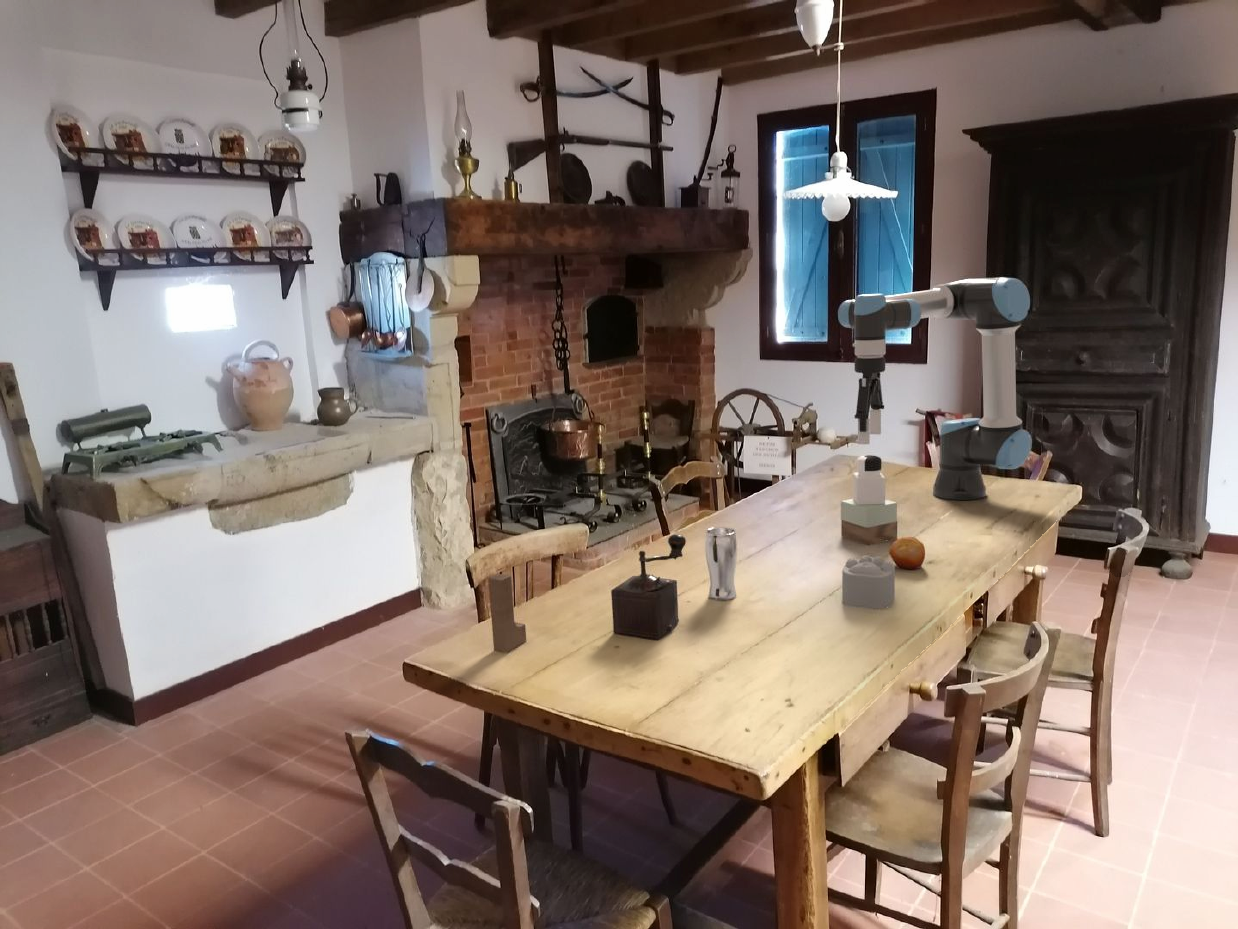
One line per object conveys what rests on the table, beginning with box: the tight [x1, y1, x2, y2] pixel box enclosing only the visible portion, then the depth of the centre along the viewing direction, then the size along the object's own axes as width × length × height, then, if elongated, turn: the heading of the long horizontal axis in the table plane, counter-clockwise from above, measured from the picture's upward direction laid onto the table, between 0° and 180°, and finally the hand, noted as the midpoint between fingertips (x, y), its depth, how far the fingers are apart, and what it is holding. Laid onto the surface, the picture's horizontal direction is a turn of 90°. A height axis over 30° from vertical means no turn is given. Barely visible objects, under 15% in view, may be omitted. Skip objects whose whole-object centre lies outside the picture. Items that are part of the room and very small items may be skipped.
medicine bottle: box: [852, 454, 887, 505], centre depth 238 cm, size 7×7×12 cm
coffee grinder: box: [610, 534, 687, 641], centre depth 188 cm, size 16×11×18 cm
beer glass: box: [704, 526, 738, 601], centre depth 203 cm, size 7×7×15 cm
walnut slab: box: [840, 519, 898, 546], centre depth 241 cm, size 10×10×5 cm
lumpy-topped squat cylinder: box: [841, 555, 896, 611], centre depth 198 cm, size 10×13×9 cm
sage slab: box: [840, 498, 898, 528], centre depth 240 cm, size 10×10×5 cm
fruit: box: [888, 536, 926, 570], centre depth 217 cm, size 8×8×8 cm
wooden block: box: [487, 573, 527, 654], centre depth 181 cm, size 7×3×15 cm, turn 149°
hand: (869, 439), depth 236 cm, fingers open, 13 cm apart
